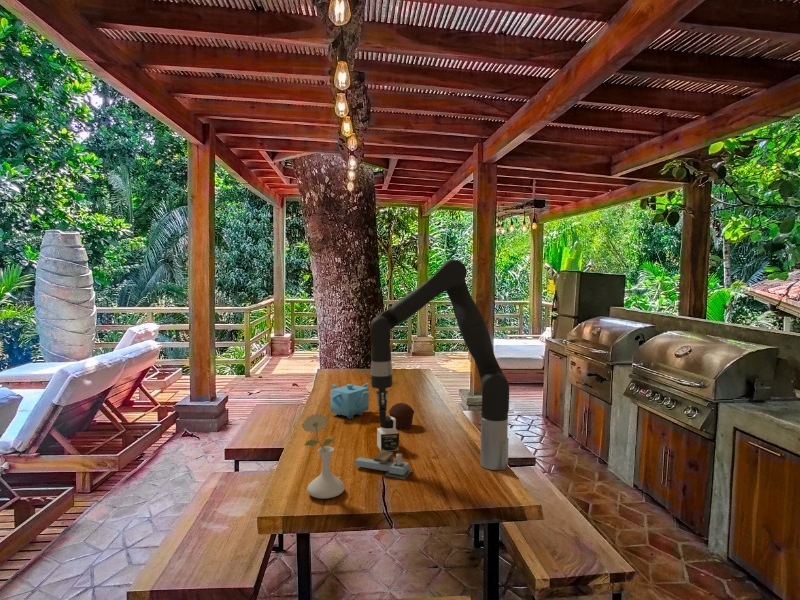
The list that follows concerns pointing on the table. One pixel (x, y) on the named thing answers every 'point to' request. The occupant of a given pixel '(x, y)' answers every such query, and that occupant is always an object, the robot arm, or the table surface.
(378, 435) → the medicine bottle
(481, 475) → the table surface
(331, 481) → the flower in vase
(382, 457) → the block
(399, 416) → the muffin
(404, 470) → the link
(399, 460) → the pintle block
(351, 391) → the teakettle
